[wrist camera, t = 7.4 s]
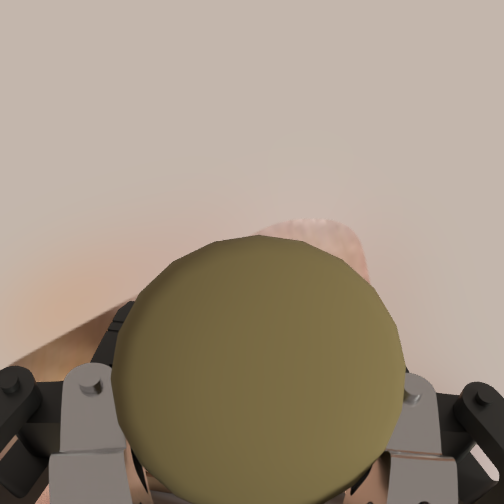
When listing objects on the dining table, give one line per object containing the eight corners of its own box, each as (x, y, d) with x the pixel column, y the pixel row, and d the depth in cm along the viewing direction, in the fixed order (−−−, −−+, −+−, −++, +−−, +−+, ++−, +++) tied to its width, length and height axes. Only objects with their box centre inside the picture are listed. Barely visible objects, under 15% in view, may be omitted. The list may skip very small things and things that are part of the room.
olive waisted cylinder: (162, 334, 15) (28, 245, 4) (282, 294, 16) (366, 145, 5) (204, 452, 13) (148, 595, 2) (326, 409, 14) (493, 455, 3)
